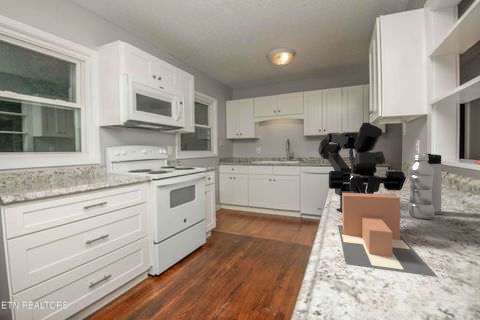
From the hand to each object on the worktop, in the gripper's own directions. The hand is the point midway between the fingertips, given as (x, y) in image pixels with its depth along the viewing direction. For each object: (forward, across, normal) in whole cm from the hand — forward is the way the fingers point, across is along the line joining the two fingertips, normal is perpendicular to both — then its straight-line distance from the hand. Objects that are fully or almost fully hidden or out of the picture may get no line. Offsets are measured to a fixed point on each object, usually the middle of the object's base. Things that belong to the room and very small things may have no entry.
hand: (368, 205), depth 58 cm
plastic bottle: (-8, +18, +18) cm, 27 cm away
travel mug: (-14, +23, +24) cm, 36 cm away
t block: (+10, 0, 0) cm, 10 cm away
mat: (+11, 0, -1) cm, 11 cm away
